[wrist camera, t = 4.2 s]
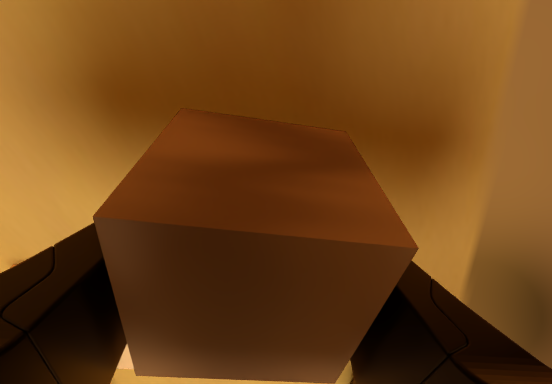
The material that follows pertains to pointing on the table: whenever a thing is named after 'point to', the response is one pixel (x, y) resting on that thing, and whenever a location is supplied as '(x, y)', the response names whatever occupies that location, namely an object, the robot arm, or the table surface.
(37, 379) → the robot arm
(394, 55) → the table surface
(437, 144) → the table surface
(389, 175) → the table surface
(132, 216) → the walnut cube
